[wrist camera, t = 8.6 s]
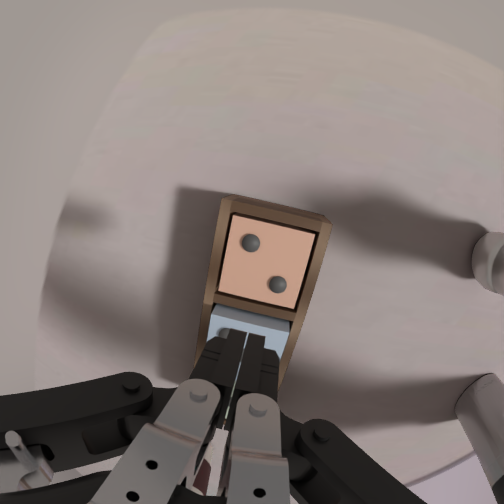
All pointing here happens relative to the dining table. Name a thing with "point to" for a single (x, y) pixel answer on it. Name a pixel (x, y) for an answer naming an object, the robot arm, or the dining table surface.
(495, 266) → the plastic bottle
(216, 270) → the dice tray set
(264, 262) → the button two
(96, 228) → the dining table surface
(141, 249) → the dining table surface
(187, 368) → the dining table surface
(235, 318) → the button three
